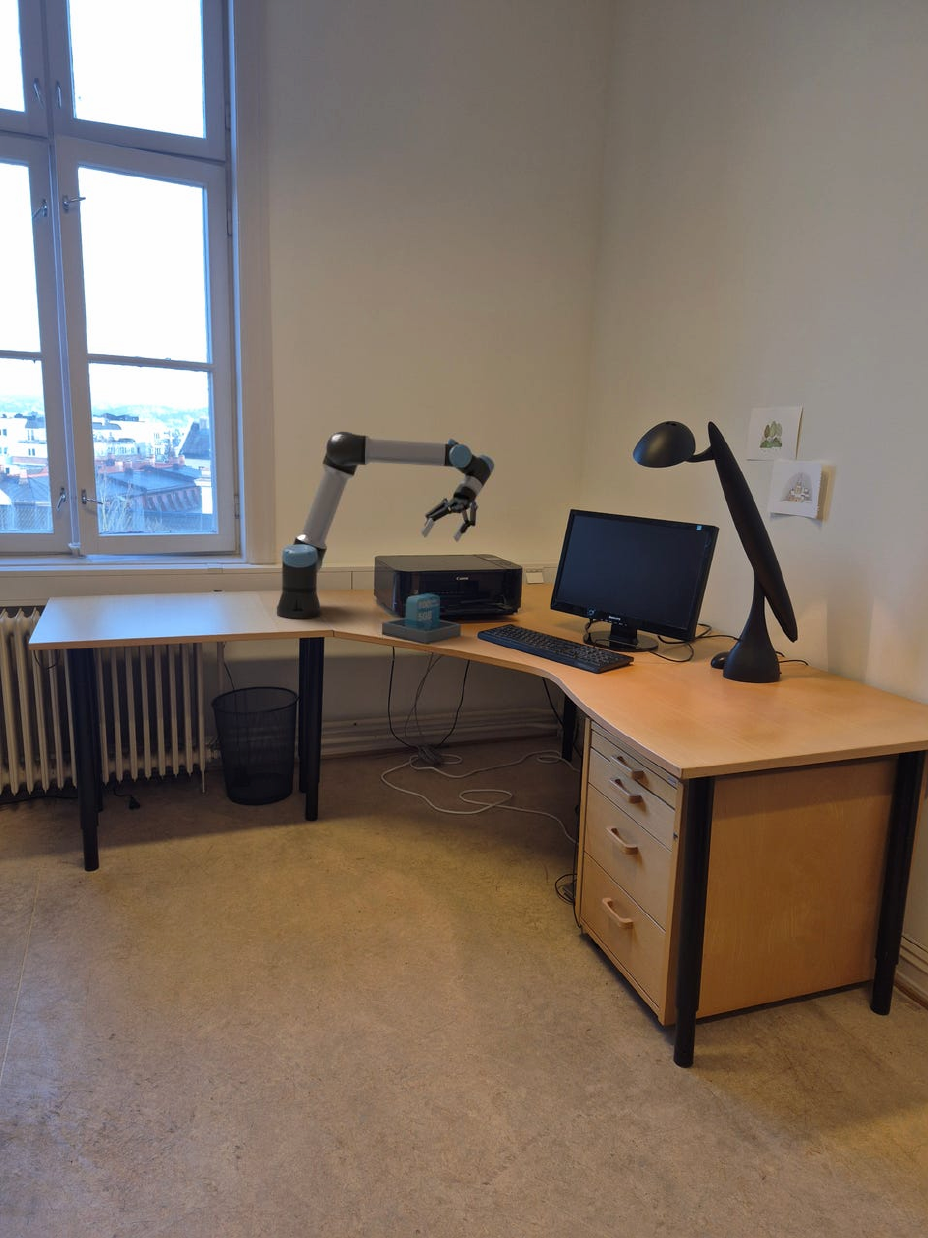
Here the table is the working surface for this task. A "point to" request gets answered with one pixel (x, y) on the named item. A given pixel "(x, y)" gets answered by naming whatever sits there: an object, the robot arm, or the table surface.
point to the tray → (400, 631)
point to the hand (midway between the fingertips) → (439, 536)
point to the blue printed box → (423, 612)
